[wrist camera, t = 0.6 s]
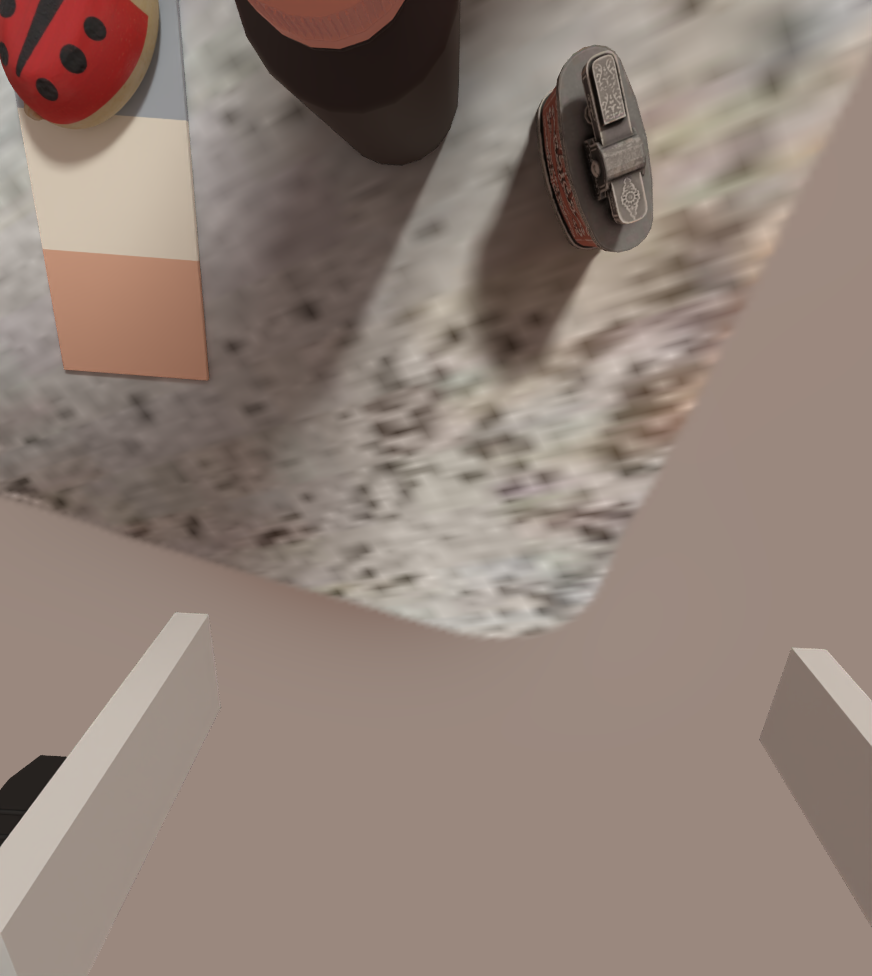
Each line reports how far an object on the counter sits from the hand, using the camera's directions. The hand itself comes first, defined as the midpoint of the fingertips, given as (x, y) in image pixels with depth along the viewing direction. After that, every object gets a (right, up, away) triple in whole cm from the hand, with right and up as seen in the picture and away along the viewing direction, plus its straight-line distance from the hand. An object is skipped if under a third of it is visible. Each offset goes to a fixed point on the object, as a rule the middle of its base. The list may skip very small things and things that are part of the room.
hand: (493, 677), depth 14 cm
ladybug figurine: (-19, +28, +17) cm, 37 cm away
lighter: (+6, +22, +19) cm, 29 cm away
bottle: (-4, +25, +17) cm, 31 cm away
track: (-19, +21, +19) cm, 35 cm away
